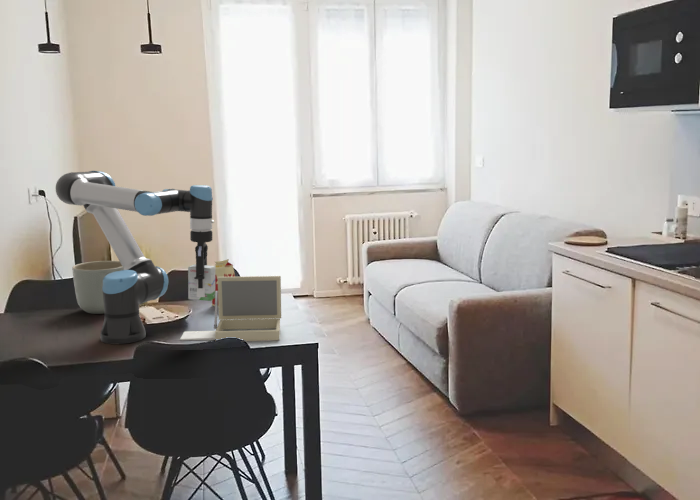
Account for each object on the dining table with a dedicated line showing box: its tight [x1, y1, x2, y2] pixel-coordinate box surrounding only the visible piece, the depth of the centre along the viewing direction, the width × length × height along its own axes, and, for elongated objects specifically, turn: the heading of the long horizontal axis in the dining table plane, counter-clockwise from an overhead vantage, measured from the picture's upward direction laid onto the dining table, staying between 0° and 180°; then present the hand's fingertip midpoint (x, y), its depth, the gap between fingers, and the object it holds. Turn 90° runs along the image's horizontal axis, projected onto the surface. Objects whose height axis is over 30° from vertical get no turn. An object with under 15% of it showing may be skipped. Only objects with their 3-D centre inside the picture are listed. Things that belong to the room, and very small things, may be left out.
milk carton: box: [211, 258, 236, 308], centre depth 283 cm, size 9×9×20 cm
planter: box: [72, 260, 124, 315], centre depth 273 cm, size 21×21×19 cm
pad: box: [179, 330, 216, 341], centre depth 239 cm, size 13×9×1 cm
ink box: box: [187, 263, 216, 302], centre depth 236 cm, size 9×5×12 cm, turn 81°
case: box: [213, 275, 282, 342], centre depth 240 cm, size 24×17×20 cm
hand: (201, 294), depth 237 cm, fingers closed on ink box, 6 cm apart
